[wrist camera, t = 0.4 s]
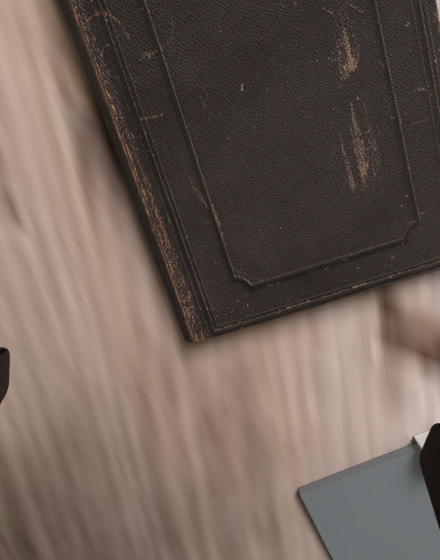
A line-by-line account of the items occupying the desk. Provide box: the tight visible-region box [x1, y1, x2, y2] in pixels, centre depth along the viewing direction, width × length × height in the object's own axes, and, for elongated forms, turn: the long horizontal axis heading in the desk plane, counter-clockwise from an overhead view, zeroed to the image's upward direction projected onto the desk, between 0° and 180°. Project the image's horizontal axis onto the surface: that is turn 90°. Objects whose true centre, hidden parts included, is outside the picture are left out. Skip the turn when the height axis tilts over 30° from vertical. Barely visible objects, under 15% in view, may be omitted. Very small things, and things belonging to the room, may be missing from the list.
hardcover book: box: [60, 0, 440, 342], centre depth 20 cm, size 16×23×2 cm
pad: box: [298, 443, 440, 560], centre depth 28 cm, size 8×12×1 cm, turn 25°
